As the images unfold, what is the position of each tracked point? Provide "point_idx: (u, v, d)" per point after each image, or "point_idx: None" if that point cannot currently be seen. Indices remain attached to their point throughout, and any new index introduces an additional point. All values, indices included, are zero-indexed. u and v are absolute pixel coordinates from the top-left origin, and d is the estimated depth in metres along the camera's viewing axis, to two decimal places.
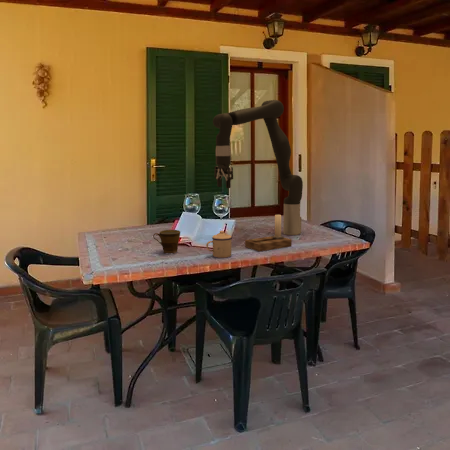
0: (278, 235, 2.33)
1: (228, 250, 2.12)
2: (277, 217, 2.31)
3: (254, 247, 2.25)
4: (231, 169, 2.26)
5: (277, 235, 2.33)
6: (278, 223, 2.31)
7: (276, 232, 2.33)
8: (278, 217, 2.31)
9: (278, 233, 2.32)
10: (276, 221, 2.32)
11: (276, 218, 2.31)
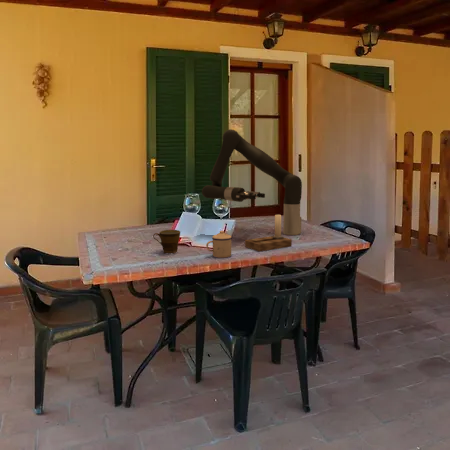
0: (278, 235, 2.33)
1: (228, 250, 2.12)
2: (277, 217, 2.31)
3: (254, 247, 2.25)
4: (237, 195, 2.37)
5: (277, 235, 2.33)
6: (278, 223, 2.31)
7: (276, 232, 2.33)
8: (278, 217, 2.31)
9: (278, 233, 2.32)
10: (276, 221, 2.32)
11: (276, 218, 2.31)
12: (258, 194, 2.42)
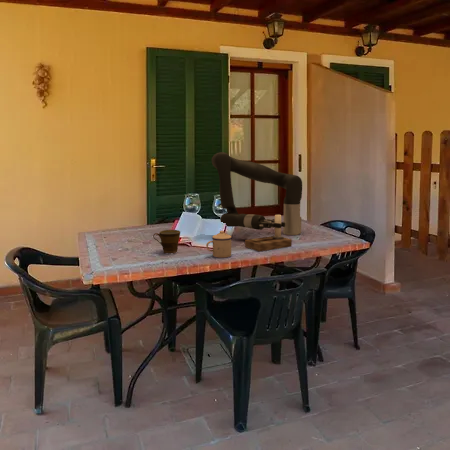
0: (278, 235, 2.33)
1: (228, 250, 2.12)
2: (277, 217, 2.31)
3: (254, 247, 2.25)
4: (261, 224, 2.32)
5: (277, 235, 2.33)
6: None
7: (276, 232, 2.33)
8: (278, 217, 2.31)
9: (278, 233, 2.32)
10: (276, 221, 2.32)
11: (276, 218, 2.31)
12: None
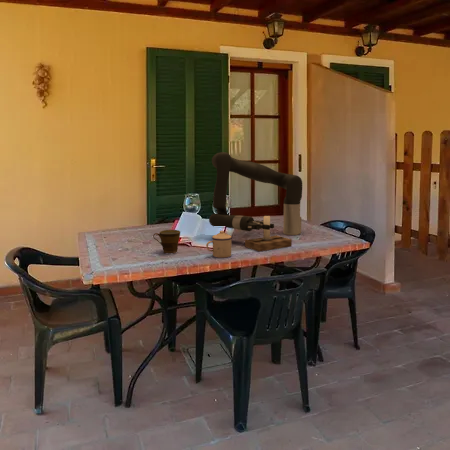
0: (267, 237, 2.29)
1: (228, 250, 2.12)
2: (265, 218, 2.27)
3: (254, 247, 2.25)
4: (249, 226, 2.28)
5: (266, 237, 2.29)
6: (267, 224, 2.28)
7: (265, 234, 2.29)
8: (266, 218, 2.27)
9: (267, 235, 2.29)
10: (265, 222, 2.28)
11: (265, 219, 2.28)
12: None
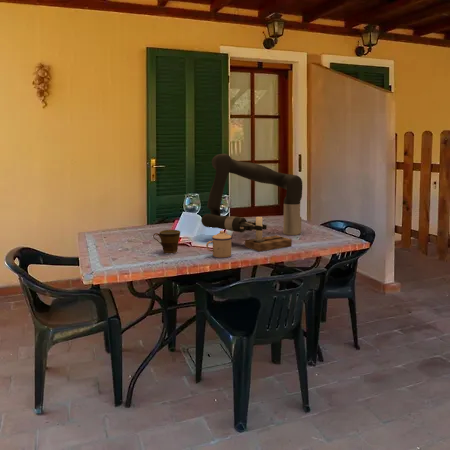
0: (259, 238, 2.26)
1: (228, 250, 2.12)
2: (258, 219, 2.25)
3: (254, 247, 2.25)
4: (241, 227, 2.26)
5: (258, 238, 2.26)
6: None
7: (257, 235, 2.26)
8: (259, 219, 2.25)
9: (259, 236, 2.26)
10: (257, 223, 2.25)
11: (257, 220, 2.25)
12: None
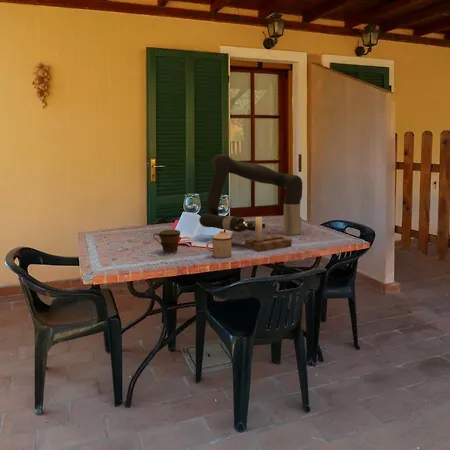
0: (259, 238, 2.26)
1: (228, 250, 2.12)
2: (257, 219, 2.25)
3: (254, 247, 2.25)
4: (236, 226, 2.27)
5: (258, 238, 2.26)
6: (259, 226, 2.25)
7: (257, 235, 2.26)
8: (258, 219, 2.25)
9: (259, 236, 2.26)
10: (257, 223, 2.25)
11: (256, 220, 2.25)
12: None
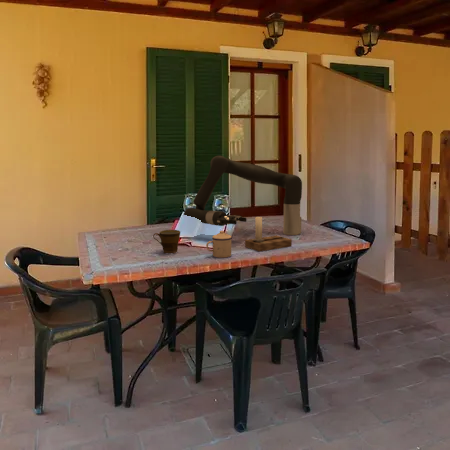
0: (259, 238, 2.26)
1: (228, 250, 2.12)
2: (257, 219, 2.25)
3: (254, 247, 2.25)
4: (218, 220, 2.34)
5: (258, 238, 2.26)
6: (259, 226, 2.25)
7: (257, 235, 2.26)
8: (258, 219, 2.25)
9: (259, 236, 2.26)
10: (257, 223, 2.25)
11: (256, 220, 2.25)
12: (240, 218, 2.39)
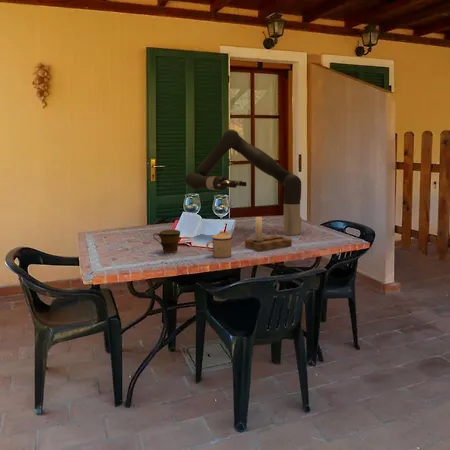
0: (259, 238, 2.26)
1: (228, 250, 2.12)
2: (257, 219, 2.25)
3: (254, 247, 2.25)
4: (218, 184, 2.37)
5: (258, 238, 2.26)
6: (259, 226, 2.25)
7: (257, 235, 2.26)
8: (258, 219, 2.25)
9: (259, 236, 2.26)
10: (257, 223, 2.25)
11: (256, 220, 2.25)
12: (240, 183, 2.42)
